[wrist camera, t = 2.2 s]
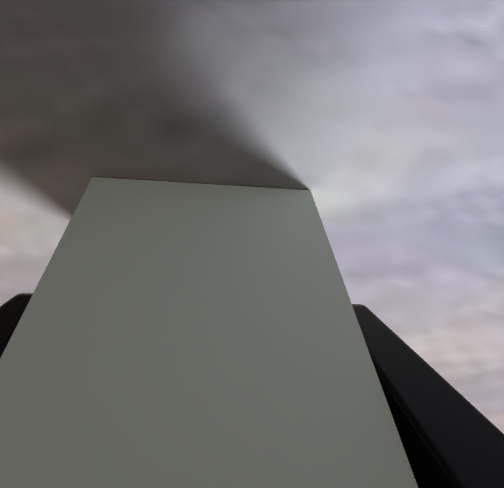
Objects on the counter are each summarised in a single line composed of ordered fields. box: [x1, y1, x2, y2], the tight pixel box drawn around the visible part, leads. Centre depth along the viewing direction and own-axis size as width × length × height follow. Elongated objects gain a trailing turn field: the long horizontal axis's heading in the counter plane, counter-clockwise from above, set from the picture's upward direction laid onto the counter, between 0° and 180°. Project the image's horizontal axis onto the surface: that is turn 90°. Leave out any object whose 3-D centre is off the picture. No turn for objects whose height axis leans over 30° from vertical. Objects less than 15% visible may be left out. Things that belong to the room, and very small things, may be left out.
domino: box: [0, 177, 418, 488], centre depth 7 cm, size 2×5×10 cm, turn 84°
